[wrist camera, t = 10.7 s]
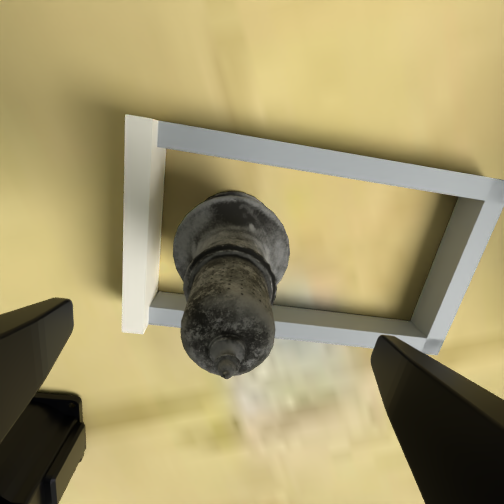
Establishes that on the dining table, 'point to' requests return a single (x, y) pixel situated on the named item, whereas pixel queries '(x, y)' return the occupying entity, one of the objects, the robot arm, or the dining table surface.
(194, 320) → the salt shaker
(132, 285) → the frame
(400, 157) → the dining table surface
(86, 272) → the dining table surface
